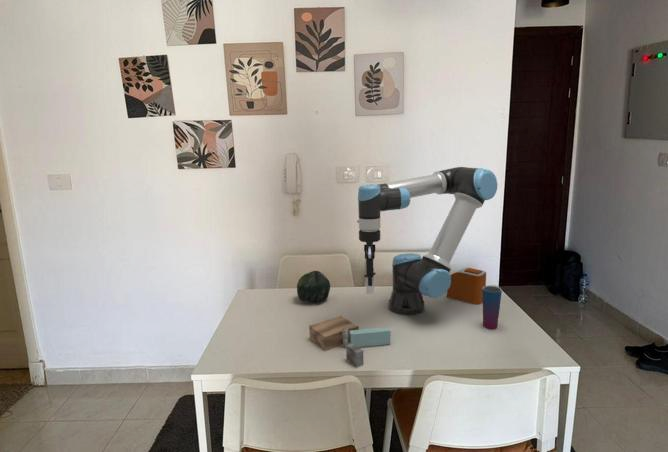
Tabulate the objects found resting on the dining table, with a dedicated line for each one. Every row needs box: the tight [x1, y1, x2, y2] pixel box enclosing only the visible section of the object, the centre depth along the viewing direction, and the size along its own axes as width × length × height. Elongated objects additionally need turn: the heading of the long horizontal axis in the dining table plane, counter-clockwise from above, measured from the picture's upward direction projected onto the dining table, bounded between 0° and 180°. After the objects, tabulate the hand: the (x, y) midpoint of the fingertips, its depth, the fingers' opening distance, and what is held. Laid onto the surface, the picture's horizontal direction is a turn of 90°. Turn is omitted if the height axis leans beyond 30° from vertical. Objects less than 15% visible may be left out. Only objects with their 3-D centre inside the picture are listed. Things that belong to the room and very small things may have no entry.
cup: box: [482, 285, 503, 330], centre depth 161 cm, size 7×7×15 cm
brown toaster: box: [446, 267, 487, 305], centre depth 189 cm, size 15×8×14 cm, turn 47°
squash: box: [296, 270, 331, 304], centre depth 192 cm, size 14×15×15 cm
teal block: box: [349, 326, 391, 348], centre depth 151 cm, size 14×3×5 cm, turn 98°
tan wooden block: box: [308, 315, 364, 368], centre depth 150 cm, size 26×14×7 cm, turn 33°
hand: (370, 293), depth 156 cm, fingers closed
